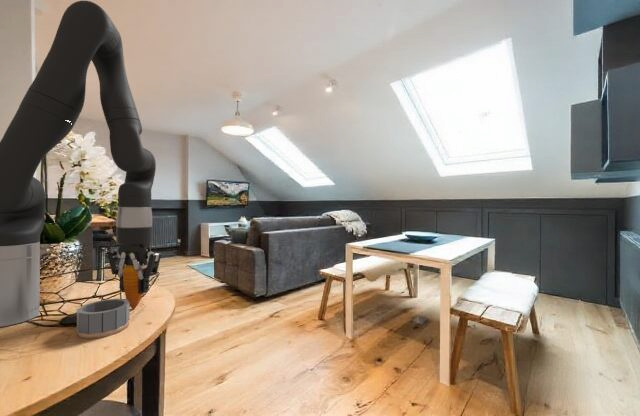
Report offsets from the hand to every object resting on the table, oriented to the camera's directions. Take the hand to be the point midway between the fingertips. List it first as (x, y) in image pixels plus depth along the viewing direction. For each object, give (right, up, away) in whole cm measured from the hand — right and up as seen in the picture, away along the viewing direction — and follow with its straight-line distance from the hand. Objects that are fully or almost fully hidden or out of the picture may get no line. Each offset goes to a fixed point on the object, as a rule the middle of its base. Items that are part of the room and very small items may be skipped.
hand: (134, 291), depth 71 cm
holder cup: (+1, -5, -11) cm, 12 cm away
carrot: (0, -5, 0) cm, 5 cm away
